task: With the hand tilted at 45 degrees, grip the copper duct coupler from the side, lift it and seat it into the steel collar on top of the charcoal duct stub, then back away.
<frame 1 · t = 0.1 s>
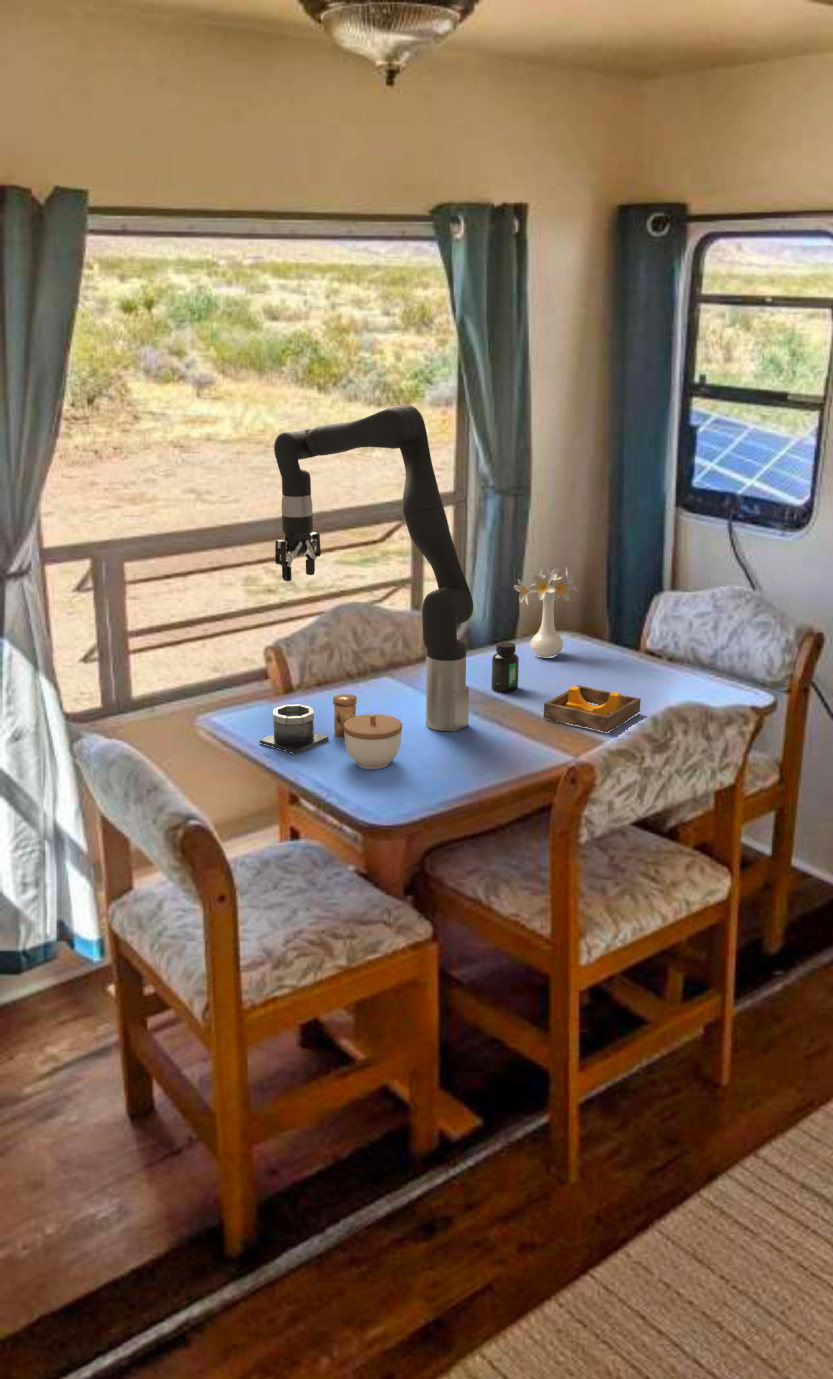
hand: (298, 577, 301), 29 cm above the table, tool pointing down, fingers open, 8 cm apart
flower vase: (545, 657, 338), on the table
hardware corral: (591, 716, 291), on the table
duct stub: (294, 742, 274), on the table
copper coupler: (345, 734, 279), on the table
lidded bowl: (373, 763, 262), on the table
pipe clamp: (591, 718, 291), resting in hardware corral
supplement bottle: (504, 689, 311), on the table
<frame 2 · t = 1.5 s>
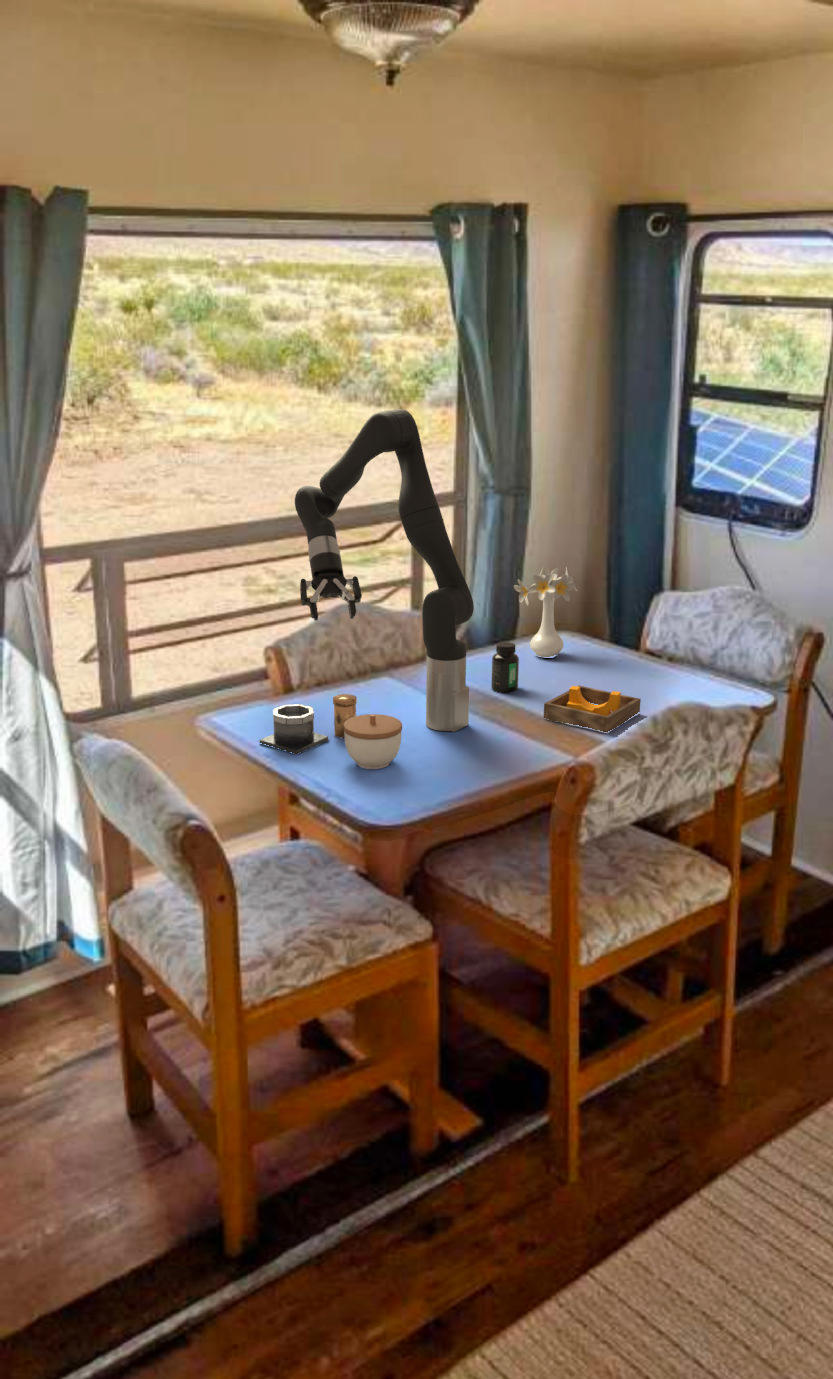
hand: (334, 618, 282), 25 cm above the table, tool tilted 45°, fingers open, 8 cm apart
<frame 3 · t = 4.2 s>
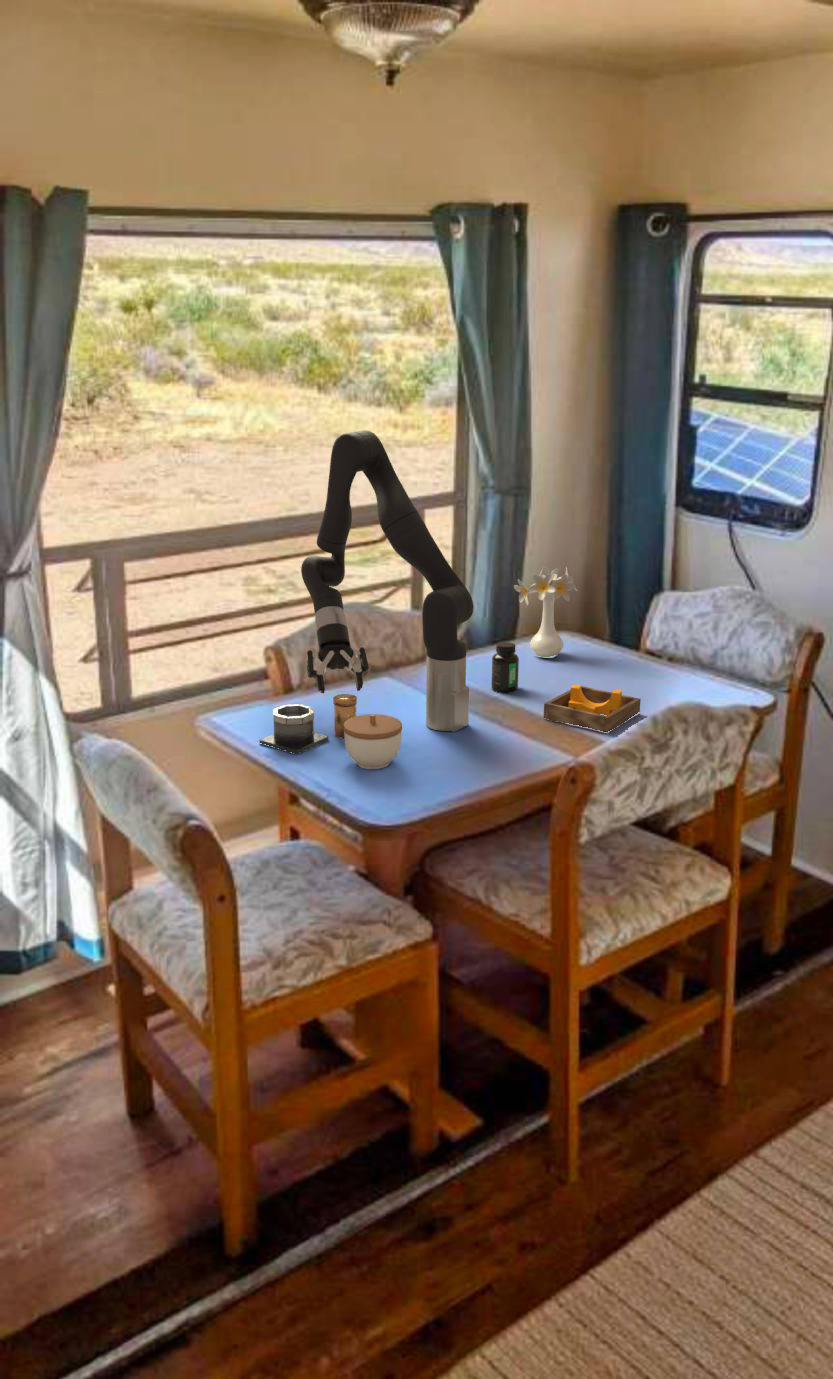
hand: (341, 690, 280), 9 cm above the table, tool tilted 45°, fingers open, 8 cm apart
pipe clamp: (594, 716, 293), resting in hardware corral
everything else where it was.
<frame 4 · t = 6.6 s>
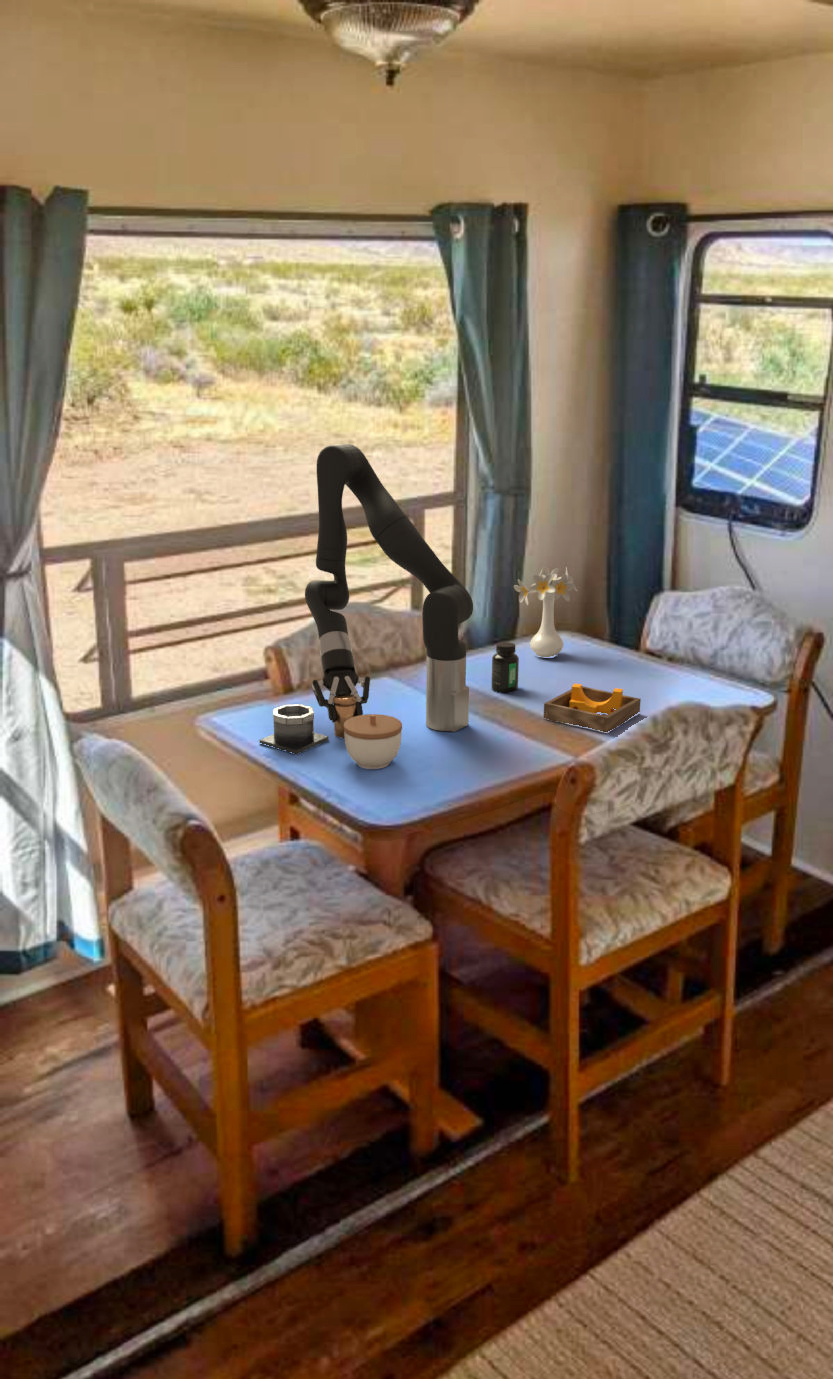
hand: (346, 719, 276), 4 cm above the table, tool tilted 45°, fingers closed on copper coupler, 5 cm apart
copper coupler: (345, 734, 279), on the table, touching gripper
when the fingers open (12 cm above the table, at t = 12.0 s): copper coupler drops 2 cm, resting on duct stub.
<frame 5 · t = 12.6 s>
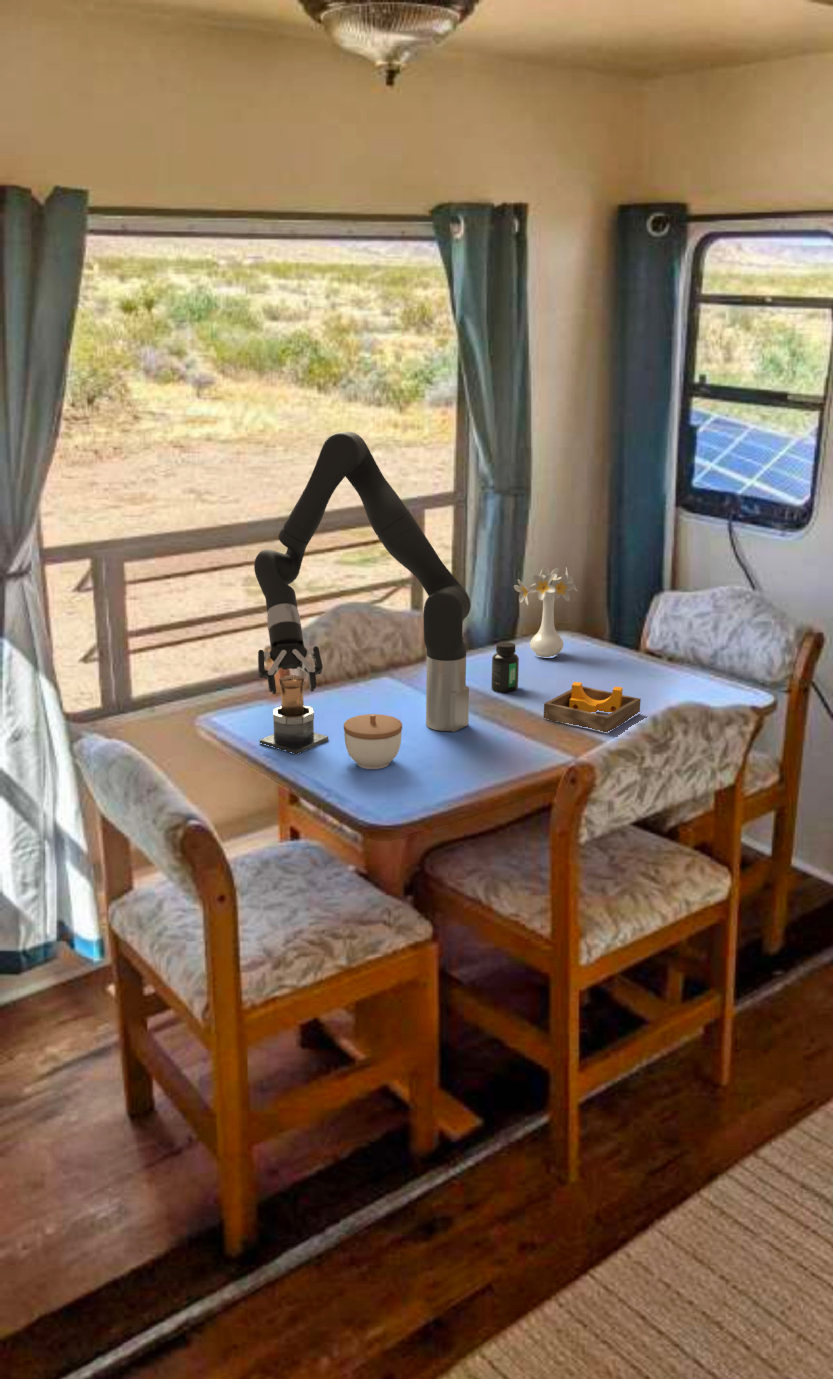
hand: (293, 691, 269), 13 cm above the table, tool tilted 45°, fingers open, 8 cm apart
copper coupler: (292, 716, 272), point 6 cm above the table, touching duct stub
pipe clamp: (595, 713, 295), resting in hardware corral
everything else where it was.
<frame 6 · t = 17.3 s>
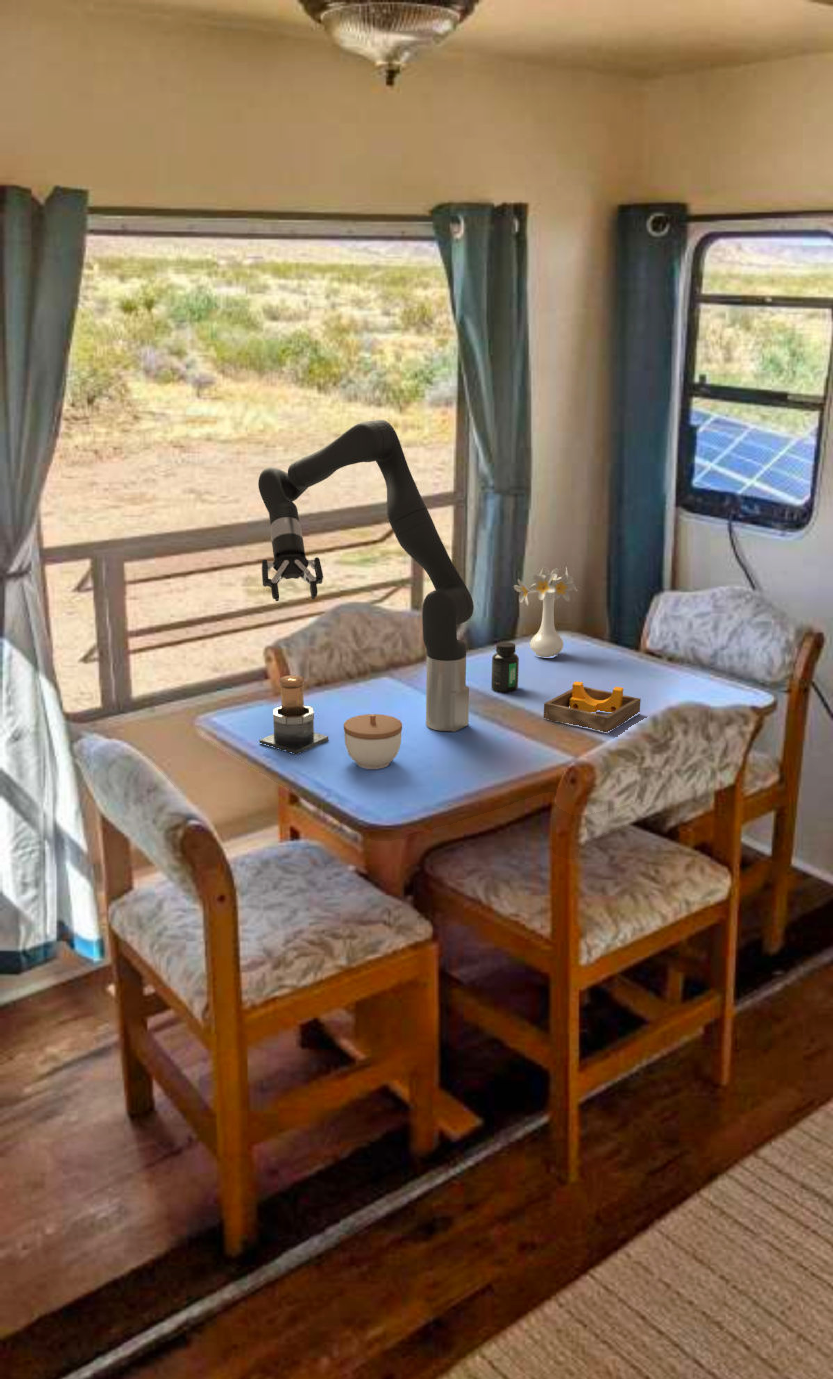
hand: (295, 598, 283), 29 cm above the table, tool tilted 45°, fingers open, 8 cm apart
pipe clamp: (595, 712, 295), resting in hardware corral
everything else where it was.
at the end: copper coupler 0.5 cm off-centre on the duct stub, point 6.0 cm above the duct stub's base; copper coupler tilted 1°; the gripper is holding nothing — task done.
